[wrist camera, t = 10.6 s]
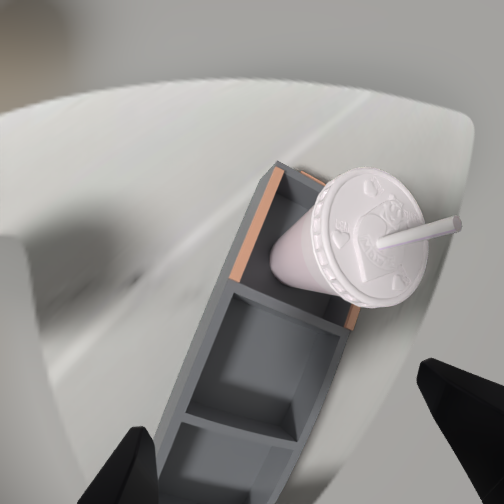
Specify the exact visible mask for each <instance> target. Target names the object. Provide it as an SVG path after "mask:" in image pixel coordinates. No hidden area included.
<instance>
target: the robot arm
mask: <svg viewBox="0 0 504 504" xmlns="http://www.w3.org/2000/svg"><path fill="white" fill-rule="evenodd" d="M417 385H418V387H419V389H420V391H421V393H422V395H423V397H424V399H425V401H426V403H427V406H428V408H429V410H430V412H431V414H432V416H433V418H434V420H435V421H436V423H437V425H438V426H439V428H440V430H441V431H442V433H443V434H444V436H445V438H446V439H447V441H448V443H449V444H450V446H451V447H452V449H453V451H454V453H455V454H456V456H457V458H458V460H459V461H460V463H461V465H462V466H463V468H464V470H465V472H466V473H467V475H468V477H469V479H470V480H471V482H472V484H473V486H474V488H475V489H476V491H477V493H478V495H479V497H480V499H481V500H482V503H483V504H504V386H503V385H500V384H497V383H495V382H492V381H490V380H487V379H484V378H482V377H479V376H477V375H474V374H472V373H469V372H466V371H464V370H461V369H459V368H456V367H454V366H451V365H449V364H446V363H444V362H441V361H439V360H436V359H434V358H428V359H426V360H424V361H422V362H421V363H420V366H419V370H418V375H417ZM77 504H159V486H158V475H157V465H156V453H155V445H154V442H153V440H152V438H151V436H150V435H149V433H148V431H147V430H146V428H145V427H143V426H138V427H132V428H130V430H129V431H128V432H127V434H126V435H125V437H124V438H123V439H122V441H121V442H120V443H119V445H118V446H117V448H116V449H115V450H114V452H113V453H112V455H111V456H110V457H109V459H108V460H107V462H106V463H105V464H104V466H103V467H102V469H101V470H100V471H99V473H98V474H97V475H96V477H95V478H94V480H93V481H92V482H91V484H90V485H89V487H88V488H87V489H86V491H85V492H84V494H83V495H82V496H81V498H80V499H79V500H78V502H77Z"/></svg>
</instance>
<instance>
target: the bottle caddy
mask: <svg viewBox="0 0 504 504" xmlns="http://www.w3.org/2000/svg"><path fill="white" fill-rule="evenodd" d="M325 185H326V184H324V183H323V182H321V181H319V180H318V179H316V178H314V177H312V176H310V175H309V174H307V173H305V172H303V171H301V172H300V173H299V172H298V171H296V170H294V169H292V168H290V167H288V166H287V165H285V164H283V163H281V162H279V161H277V162H276V163H275V164H274V165H273V166H272V167H271V168H270V169H269V170H268V172H267V173H266V174H265V175H264V176H263V177H262V178H261V179H260V181H259V183H258V186H257V188H256V190H255V193H254V195H253V197H252V200H251V202H250V204H249V206H248V209H247V211H246V213H245V216H244V218H243V220H242V223H241V225H240V227H239V230H238V232H237V234H236V237H235V239H234V241H233V244H232V246H231V249H230V251H229V253H228V256H227V258H226V260H225V263H224V265H223V267H222V270H221V272H220V275H219V277H218V279H217V282H216V284H215V287H214V289H213V291H212V294H211V296H210V299H209V301H208V304H207V306H206V308H205V311H204V313H203V316H202V318H201V321H200V323H199V325H198V328H197V330H196V333H195V335H194V338H193V340H192V343H191V345H190V348H189V350H188V353H187V355H186V358H185V360H184V363H183V365H182V368H181V370H180V373H179V375H178V378H177V380H176V383H175V385H174V388H173V390H172V393H171V395H170V398H169V400H168V403H167V405H166V408H165V411H164V413H163V416H162V418H161V421H160V423H159V426H158V429H157V431H156V434H155V436H154V439H153V442H154V445H155V453H156V465H157V475H158V486H159V504H275V503H276V501H277V499H278V497H279V495H280V493H281V492H282V490H283V488H284V486H285V484H286V482H287V480H288V478H289V476H290V474H291V472H292V470H293V468H294V466H295V464H296V462H297V460H298V458H299V456H300V454H301V452H302V450H303V448H304V446H305V443H306V441H307V439H308V437H309V435H310V433H311V430H312V428H313V426H314V424H315V421H316V419H317V417H318V414H319V412H320V410H321V407H322V405H323V402H324V400H325V398H326V395H327V393H328V390H329V388H330V385H331V383H332V380H333V378H334V375H335V372H336V370H337V367H338V364H339V362H340V359H341V356H342V353H343V351H344V348H345V345H346V342H347V339H348V336H349V334H350V331H351V330H352V331H353V330H354V327H355V324H356V321H357V318H358V314H359V311H360V308H361V307H358V306H356V305H354V304H352V303H350V302H348V301H346V300H344V299H343V298H342V297H339V296H335V295H330V294H325V293H320V292H315V291H310V290H305V289H300V288H295V287H290V286H286V285H284V284H282V283H281V282H279V281H278V280H277V279H276V278H275V276H274V275H273V273H272V271H271V268H270V264H269V255H270V251H271V248H272V246H273V245H274V243H275V242H276V241H277V240H278V239H279V238H280V237H281V236H282V235H283V234H284V233H285V232H286V231H287V230H289V229H290V228H291V227H292V226H293V225H294V224H295V223H296V222H297V221H298V220H299V219H300V218H301V217H302V216H303V215H304V214H305V213H307V212H308V211H309V210H310V209H311V208H312V207H313V206H314V205H315V202H316V199H317V197H318V195H319V193H320V192H321V191H322V189H323V188H324V187H325Z"/></svg>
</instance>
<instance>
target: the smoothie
mask: <svg viewBox="0 0 504 504" xmlns="http://www.w3.org/2000/svg"><path fill="white" fill-rule="evenodd" d="M461 229H462V223H461V220H460V218H459V217H458V216H457V215H454V216H451V217H448V218H445V219H441V220H438V221H435V222H431V223H428V224H426V223H425V220H424V217H423V214H422V212H421V209H420V207H419V205H418V203H417V201H416V200H415V198H414V197H413V195H412V194H411V192H410V191H409V190H408V189H407V188H406V187H405V186H404V185H403V183H402V182H400V181H399V180H398V179H397V178H395V177H394V176H393V175H391V174H389V173H387V172H385V171H383V170H381V169H377V168H373V167H358V168H354V169H351V170H349V171H347V172H345V173H344V174H340V175H338V176H337V177H335V178H334V179H332V180H331V181H330V182H328V183H327V184H326V185H325V187H324V188H323V189H322V191H321V192H320V193H319V195H318V197H317V199H316V202H315V205H314V206H313V207H312V208H311V209H310V210H309V211H308V212H307V213H305V214H304V215H303V216H302V217H301V218H300V219H299V220H298V221H297V222H296V223H295V224H294V225H293V226H292V227H291V228H290V229H289V230H287V231H286V232H285V233H284V234H283V235H282V236H281V237H280V238H279V239H278V240H277V241H276V242H275V243H274V245H273V246H272V248H271V251H270V255H269V264H270V268H271V271H272V273H273V275H274V276H275V278H276V279H277V280H278V281H279V282H281V283H282V284H284V285H286V286H290V287H295V288H300V289H305V290H310V291H315V292H320V293H325V294H330V295H335V296H339V297H342V298H343V299H344V300H346V301H348V302H350V303H352V304H354V305H356V306H358V307H365V308H378V307H389V306H393V305H396V304H399V303H401V302H403V301H404V300H405V299H407V298H408V297H409V296H410V295H411V294H412V293H413V292H414V291H415V290H416V288H417V287H418V285H419V284H420V282H421V280H422V278H423V275H424V272H425V269H426V265H427V261H428V250H429V244H428V239H432V238H436V237H441V236H445V235H448V234H452V233H456V232H460V231H461Z"/></svg>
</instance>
